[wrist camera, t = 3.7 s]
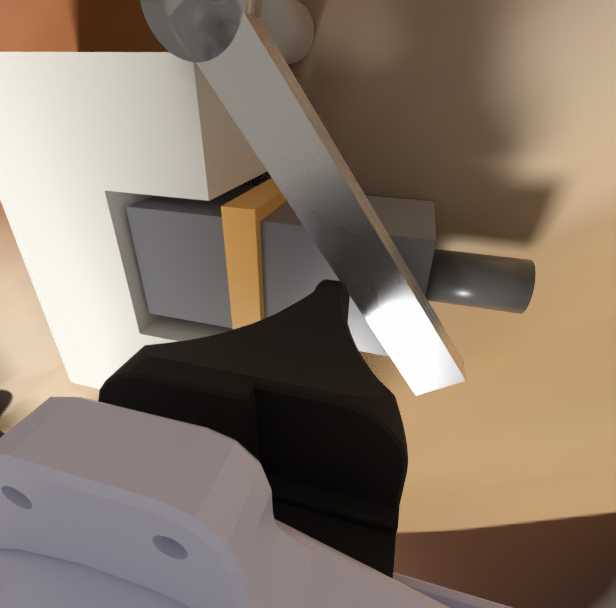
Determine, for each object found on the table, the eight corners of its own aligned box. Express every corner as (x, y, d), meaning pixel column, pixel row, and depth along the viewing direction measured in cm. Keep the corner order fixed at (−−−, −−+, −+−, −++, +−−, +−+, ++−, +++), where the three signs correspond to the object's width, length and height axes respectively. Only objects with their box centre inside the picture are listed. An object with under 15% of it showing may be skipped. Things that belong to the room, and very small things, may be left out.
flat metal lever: (478, 355, 12) (483, 375, 11) (403, 380, 13) (401, 399, 12) (213, -106, 8) (189, -128, 7) (143, -11, 9) (115, -21, 9)
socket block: (306, 355, 21) (272, 432, 17) (141, 324, 24) (69, 383, 19) (315, -2, 13) (252, -53, 9) (64, 6, 16) (-92, -30, 11)
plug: (495, 320, 17) (517, 398, 13) (206, 277, 20) (145, 328, 16) (534, 196, 14) (581, 242, 10) (192, 169, 18) (114, 195, 13)
